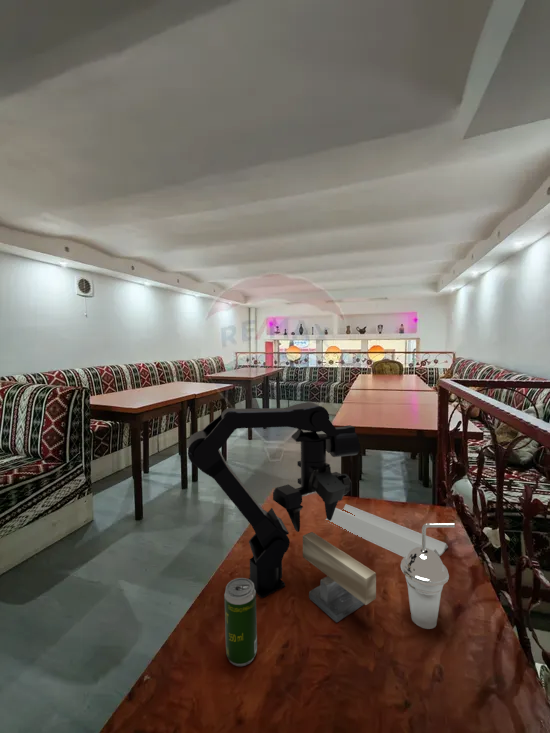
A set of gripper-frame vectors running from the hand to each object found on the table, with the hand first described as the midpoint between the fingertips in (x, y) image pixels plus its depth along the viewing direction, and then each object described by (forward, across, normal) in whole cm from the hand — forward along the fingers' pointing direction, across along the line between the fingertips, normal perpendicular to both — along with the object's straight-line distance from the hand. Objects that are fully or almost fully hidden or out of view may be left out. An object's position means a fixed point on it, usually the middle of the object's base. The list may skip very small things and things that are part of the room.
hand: (313, 525), depth 79 cm
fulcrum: (+12, -1, -9) cm, 15 cm away
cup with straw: (+12, +10, -22) cm, 27 cm away
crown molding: (+13, +27, +4) cm, 30 cm away
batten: (+6, -1, -9) cm, 11 cm away
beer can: (+12, -23, -9) cm, 28 cm away
